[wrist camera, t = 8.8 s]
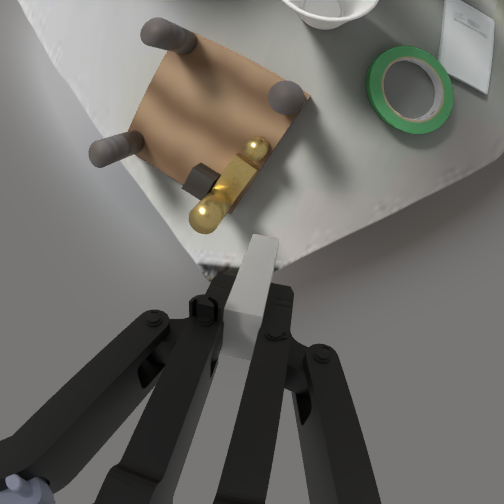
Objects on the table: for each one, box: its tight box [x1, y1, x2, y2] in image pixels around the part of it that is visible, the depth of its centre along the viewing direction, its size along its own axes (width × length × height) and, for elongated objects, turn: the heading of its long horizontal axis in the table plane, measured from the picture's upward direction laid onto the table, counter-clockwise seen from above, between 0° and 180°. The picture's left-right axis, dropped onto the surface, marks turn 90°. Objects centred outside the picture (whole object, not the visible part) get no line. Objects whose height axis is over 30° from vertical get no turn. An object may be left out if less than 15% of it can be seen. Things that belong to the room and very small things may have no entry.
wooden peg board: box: [89, 18, 310, 214], centre depth 31 cm, size 18×18×10 cm
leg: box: [189, 136, 269, 234], centre depth 32 cm, size 11×3×8 cm, turn 145°
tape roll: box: [366, 46, 454, 134], centre depth 28 cm, size 11×11×3 cm
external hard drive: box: [437, 0, 495, 95], centre depth 23 cm, size 2×8×12 cm
